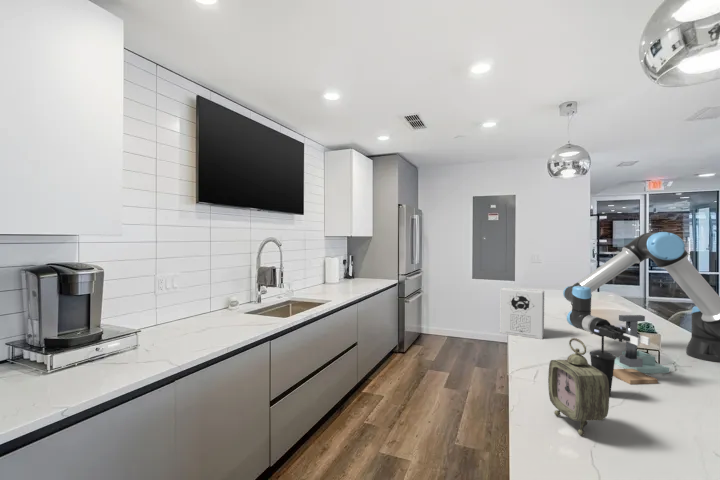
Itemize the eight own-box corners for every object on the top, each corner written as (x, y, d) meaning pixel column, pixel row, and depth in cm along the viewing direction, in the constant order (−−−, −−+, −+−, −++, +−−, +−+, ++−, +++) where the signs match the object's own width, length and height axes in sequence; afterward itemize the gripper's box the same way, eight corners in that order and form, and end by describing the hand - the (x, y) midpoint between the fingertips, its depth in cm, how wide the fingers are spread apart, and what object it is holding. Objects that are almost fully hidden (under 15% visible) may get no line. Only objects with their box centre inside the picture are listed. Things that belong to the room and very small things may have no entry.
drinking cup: (620, 399, 121) (620, 340, 120) (594, 397, 122) (595, 338, 122) (609, 390, 128) (609, 334, 128) (585, 388, 130) (586, 332, 129)
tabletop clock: (547, 413, 111) (548, 332, 111) (575, 412, 112) (576, 332, 111) (579, 439, 97) (580, 346, 96) (611, 438, 97) (612, 346, 97)
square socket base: (639, 360, 159) (639, 348, 159) (669, 372, 145) (669, 359, 145) (609, 361, 157) (609, 348, 157) (637, 373, 144) (637, 359, 143)
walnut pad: (632, 372, 145) (632, 368, 145) (657, 383, 134) (657, 379, 134) (607, 373, 144) (607, 369, 144) (630, 384, 133) (630, 380, 133)
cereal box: (543, 335, 198) (544, 290, 197) (542, 339, 191) (543, 292, 191) (502, 330, 209) (502, 287, 209) (499, 333, 203) (500, 288, 202)
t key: (636, 362, 142) (637, 314, 142) (647, 366, 137) (648, 317, 137) (614, 362, 141) (615, 314, 141) (625, 367, 136) (626, 317, 136)
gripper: (614, 334, 158) (664, 351, 134) (578, 334, 156) (622, 352, 133) (614, 317, 158) (664, 331, 134) (579, 317, 156) (623, 332, 133)
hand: (643, 341), depth 134 cm, fingers closed on t key, 3 cm apart
